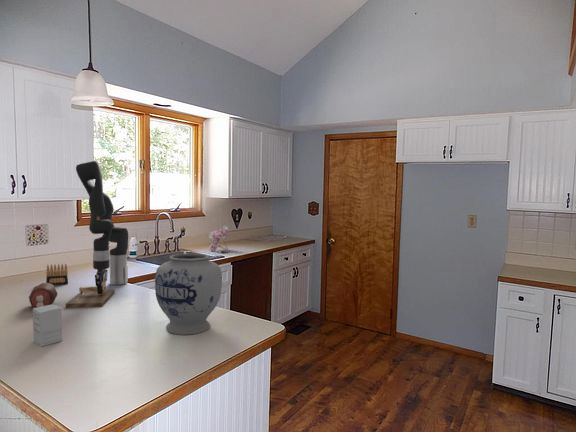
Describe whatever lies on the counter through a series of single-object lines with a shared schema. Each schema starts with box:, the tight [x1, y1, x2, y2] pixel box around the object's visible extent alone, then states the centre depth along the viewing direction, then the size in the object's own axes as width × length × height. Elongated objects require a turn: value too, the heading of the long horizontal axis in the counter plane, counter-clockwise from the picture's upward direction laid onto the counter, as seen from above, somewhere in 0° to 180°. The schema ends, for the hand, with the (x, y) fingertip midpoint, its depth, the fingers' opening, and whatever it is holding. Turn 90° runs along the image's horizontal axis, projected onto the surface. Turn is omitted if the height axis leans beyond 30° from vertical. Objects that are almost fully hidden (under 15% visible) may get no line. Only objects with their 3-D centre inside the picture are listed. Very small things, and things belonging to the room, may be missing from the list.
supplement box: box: [32, 303, 63, 347], centre depth 144 cm, size 7×7×13 cm
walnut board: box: [64, 289, 116, 309], centre depth 196 cm, size 16×24×2 cm, turn 11°
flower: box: [208, 225, 231, 253], centre depth 348 cm, size 20×22×25 cm
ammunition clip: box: [45, 263, 69, 286], centre depth 224 cm, size 11×2×12 cm, turn 115°
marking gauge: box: [78, 281, 107, 295], centre depth 199 cm, size 12×5×6 cm, turn 101°
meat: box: [28, 282, 58, 309], centre depth 184 cm, size 20×12×10 cm, turn 24°
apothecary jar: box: [154, 253, 223, 336], centre depth 162 cm, size 27×27×30 cm
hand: (101, 291), depth 200 cm, fingers closed on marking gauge, 5 cm apart
